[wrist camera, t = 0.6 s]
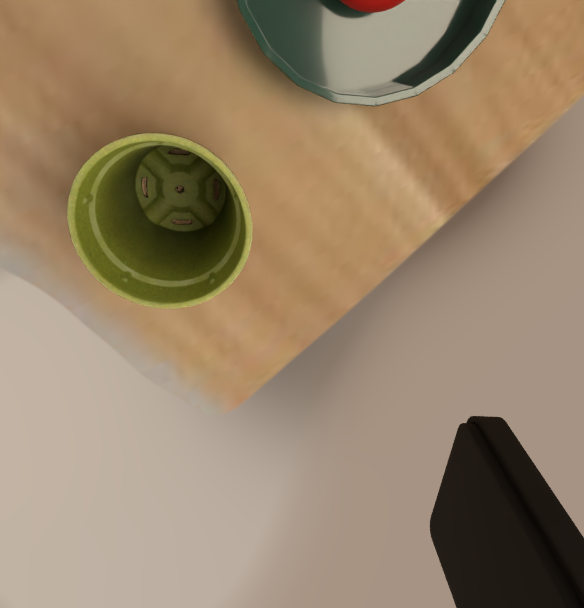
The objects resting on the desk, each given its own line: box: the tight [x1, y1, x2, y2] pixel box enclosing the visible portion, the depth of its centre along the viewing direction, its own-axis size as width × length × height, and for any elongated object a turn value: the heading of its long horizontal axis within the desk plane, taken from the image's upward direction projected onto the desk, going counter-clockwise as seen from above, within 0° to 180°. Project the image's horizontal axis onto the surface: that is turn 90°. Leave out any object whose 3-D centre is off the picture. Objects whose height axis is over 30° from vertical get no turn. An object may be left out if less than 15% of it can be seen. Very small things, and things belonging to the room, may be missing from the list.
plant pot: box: [67, 133, 252, 309], centre depth 30 cm, size 9×9×9 cm
